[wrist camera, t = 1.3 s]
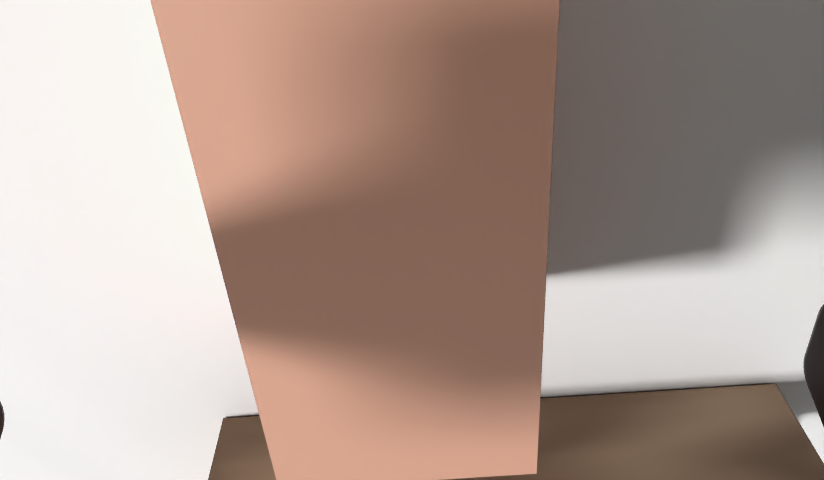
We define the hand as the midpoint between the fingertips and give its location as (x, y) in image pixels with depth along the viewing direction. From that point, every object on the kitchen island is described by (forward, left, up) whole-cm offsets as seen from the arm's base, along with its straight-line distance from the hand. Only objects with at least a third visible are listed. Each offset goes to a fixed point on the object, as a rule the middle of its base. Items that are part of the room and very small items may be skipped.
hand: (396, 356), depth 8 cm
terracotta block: (0, 0, -7) cm, 7 cm away
